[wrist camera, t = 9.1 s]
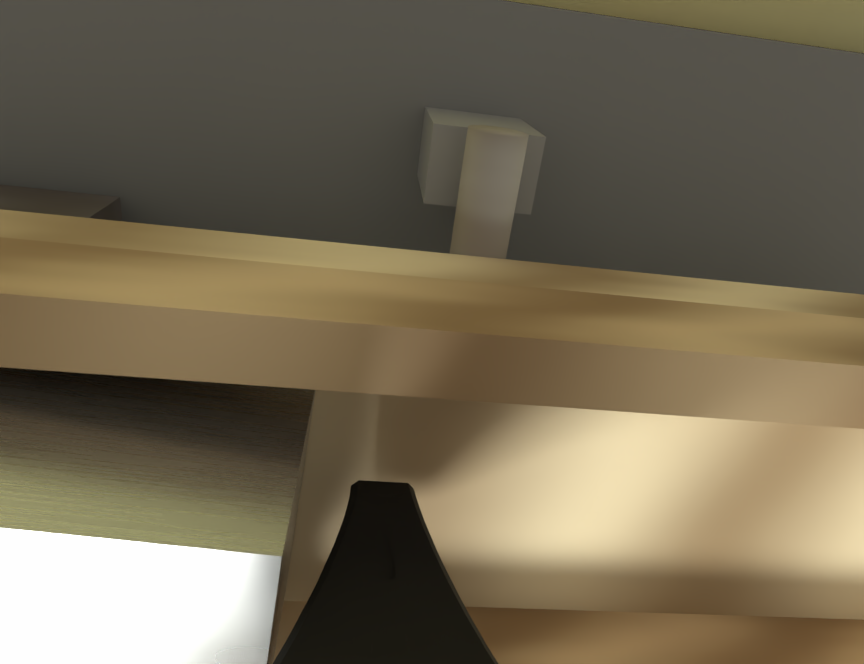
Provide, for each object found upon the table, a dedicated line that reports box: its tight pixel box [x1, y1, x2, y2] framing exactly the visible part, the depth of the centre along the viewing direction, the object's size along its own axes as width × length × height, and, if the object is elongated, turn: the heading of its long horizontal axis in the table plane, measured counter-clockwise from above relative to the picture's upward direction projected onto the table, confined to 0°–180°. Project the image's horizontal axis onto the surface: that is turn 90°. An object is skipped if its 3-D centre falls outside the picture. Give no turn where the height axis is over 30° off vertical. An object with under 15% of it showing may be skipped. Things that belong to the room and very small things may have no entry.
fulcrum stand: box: [0, 0, 864, 295], centre depth 15 cm, size 28×16×3 cm, turn 83°
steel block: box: [0, 367, 316, 664], centre depth 9 cm, size 5×5×4 cm
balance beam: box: [0, 125, 864, 664], centre depth 12 cm, size 24×12×6 cm, turn 83°
